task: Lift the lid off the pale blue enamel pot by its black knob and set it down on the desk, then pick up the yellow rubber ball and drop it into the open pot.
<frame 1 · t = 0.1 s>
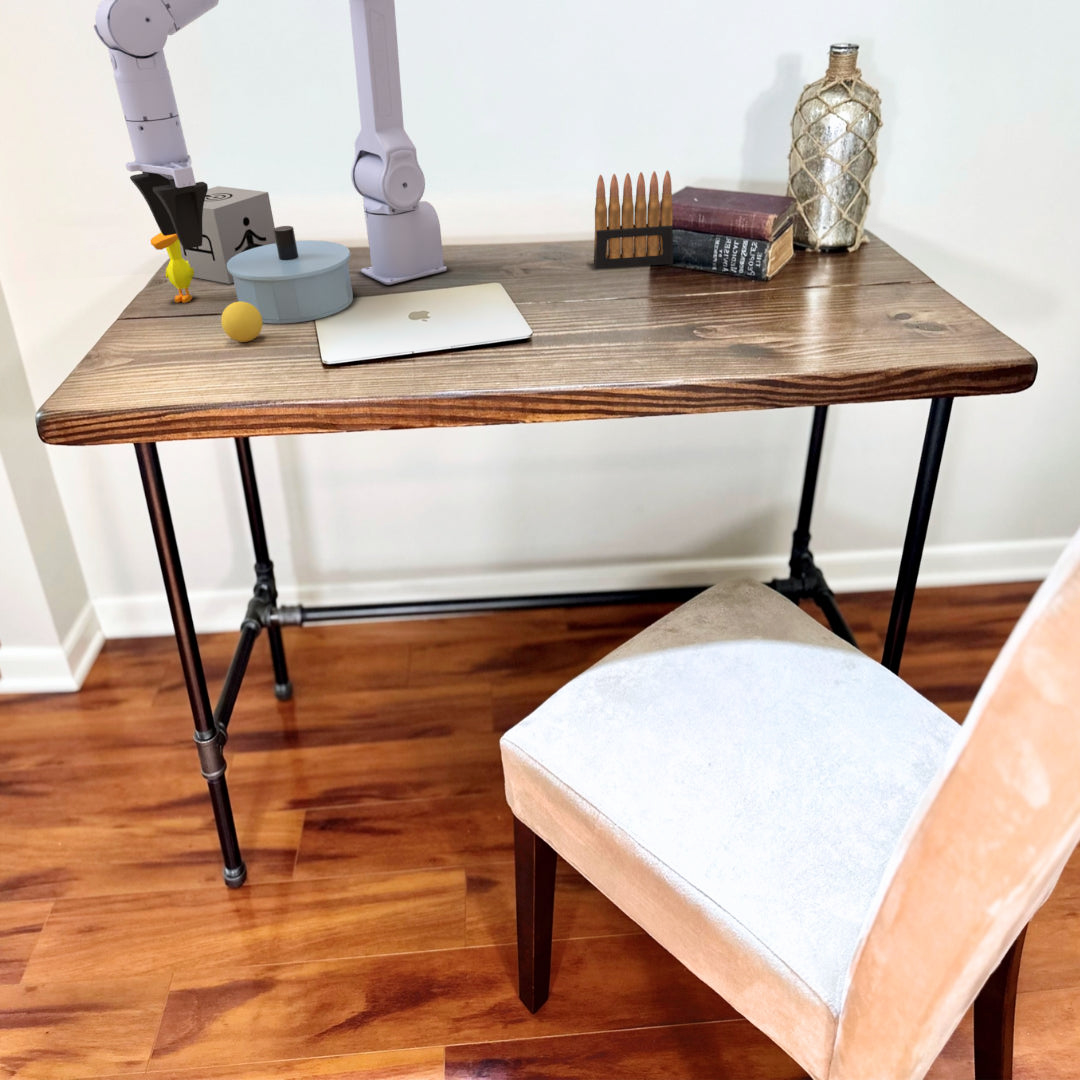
hand: (182, 240, 115), 10 cm above the table, tool pointing down, fingers open, 7 cm apart
ball: (242, 321, 113), point 2 cm above the table
icon cube: (231, 270, 139), on the table
toy figure: (183, 302, 128), on the table
lid: (289, 261, 122), point 5 cm above the table, touching pot
pot: (297, 304, 125), on the table
ammunition clip: (633, 265, 133), on the table
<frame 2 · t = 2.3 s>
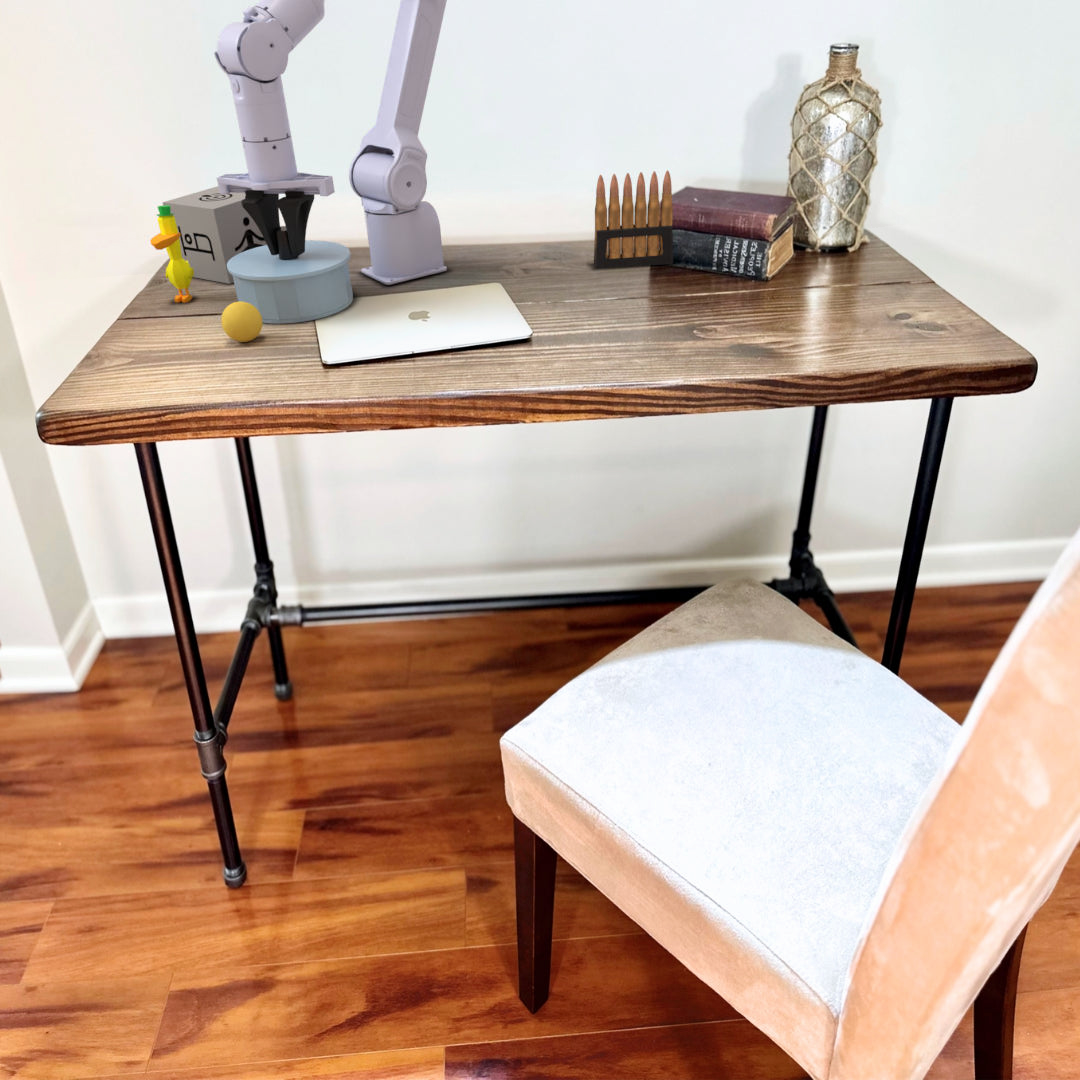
hand: (288, 253, 121), 7 cm above the table, tool pointing down, fingers closed on lid, 2 cm apart
lid: (289, 261, 122), point 6 cm above the table, touching gripper, pot
everything else where it was.
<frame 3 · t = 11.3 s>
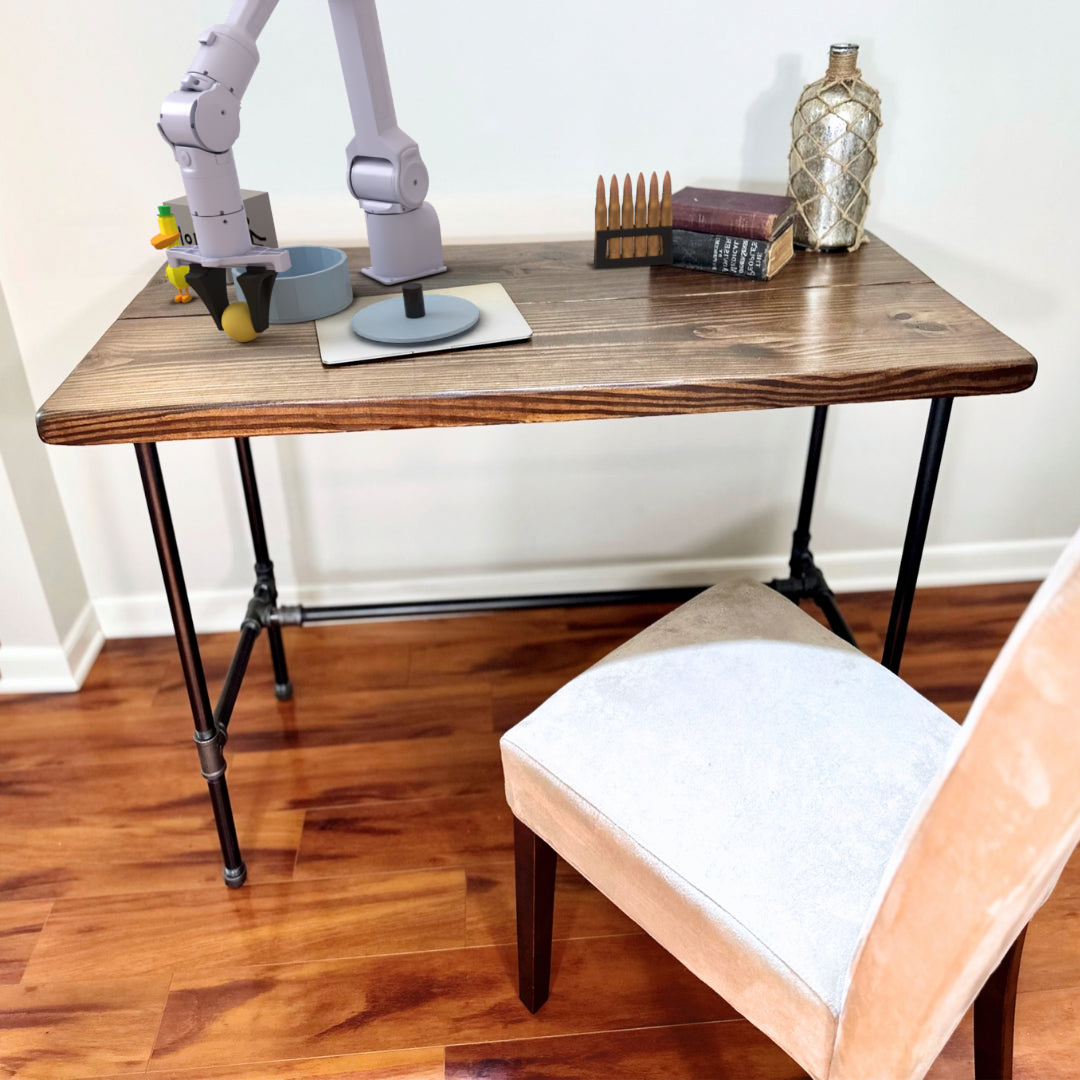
hand: (243, 328, 114), 1 cm above the table, tool pointing down, fingers closed on ball, 4 cm apart
ball: (242, 321, 113), point 2 cm above the table, touching gripper
lid: (416, 319, 116), point 1 cm above the table
everything else where it was.
when the fingers open (2 cm above the table, at t = 15.9 s): ball stays where it is, resting on pot.
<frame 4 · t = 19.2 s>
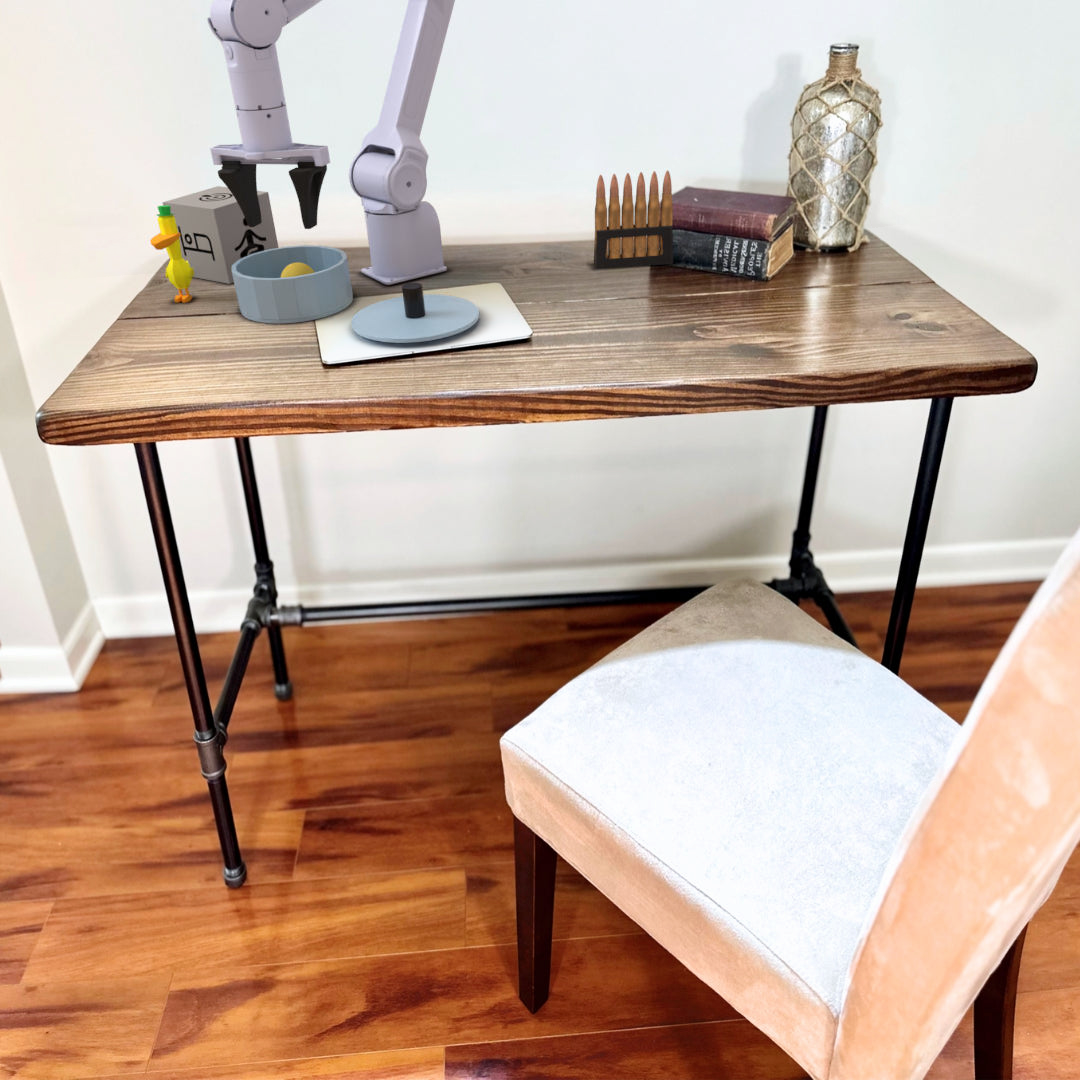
hand: (282, 226, 119), 10 cm above the table, tool pointing down, fingers open, 7 cm apart
ball: (299, 281, 123), point 3 cm above the table, tilted 20°, touching pot
everything else where it was.
at the end: lid inside the target area (0.1 cm from its centre), point 0.6 cm above the table; ball inside the target area in the pot (0.8 cm from its centre), point 2.8 cm above the pot's base; the gripper is holding nothing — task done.
